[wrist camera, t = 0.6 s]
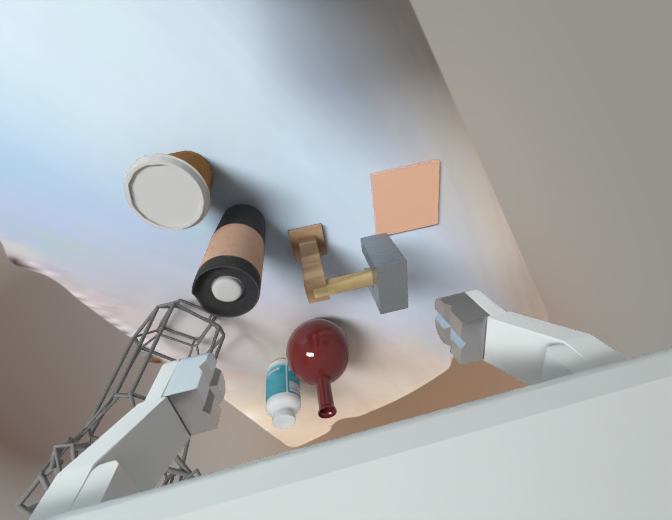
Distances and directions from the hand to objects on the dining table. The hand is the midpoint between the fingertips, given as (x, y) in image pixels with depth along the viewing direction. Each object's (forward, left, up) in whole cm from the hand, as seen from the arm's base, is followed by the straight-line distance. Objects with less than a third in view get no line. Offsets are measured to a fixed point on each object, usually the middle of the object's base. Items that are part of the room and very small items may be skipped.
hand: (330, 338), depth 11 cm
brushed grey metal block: (+17, +9, -31) cm, 36 cm away
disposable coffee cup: (+1, -16, -41) cm, 44 cm away
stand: (+17, +4, -41) cm, 45 cm away
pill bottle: (+49, -14, -41) cm, 66 cm away
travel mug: (+11, -11, -41) cm, 44 cm away
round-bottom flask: (+39, -4, -41) cm, 57 cm away
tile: (+13, +18, -41) cm, 47 cm away
